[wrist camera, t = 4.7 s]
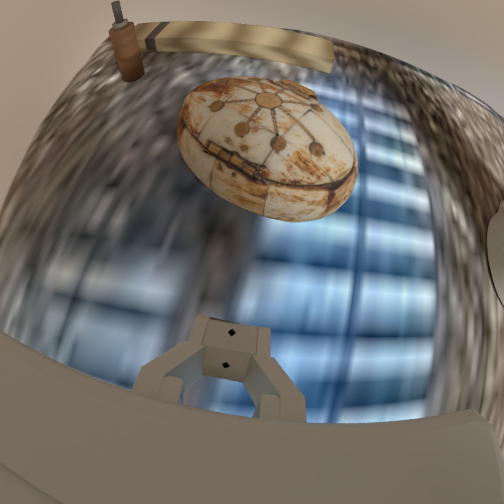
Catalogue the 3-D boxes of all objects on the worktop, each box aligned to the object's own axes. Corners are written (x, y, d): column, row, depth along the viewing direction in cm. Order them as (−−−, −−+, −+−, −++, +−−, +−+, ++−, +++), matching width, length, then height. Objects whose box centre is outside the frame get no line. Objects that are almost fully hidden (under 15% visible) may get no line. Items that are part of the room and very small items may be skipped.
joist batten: (328, 53, 32) (333, 41, 30) (329, 73, 30) (334, 60, 28) (140, 35, 32) (137, 23, 29) (122, 53, 30) (119, 41, 28)
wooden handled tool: (148, 68, 29) (133, -5, 17) (138, 81, 28) (119, 5, 17) (129, 69, 29) (111, -1, 17) (118, 82, 28) (96, 9, 16)
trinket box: (345, 237, 23) (389, 195, 16) (168, 227, 23) (143, 177, 15) (329, 123, 27) (352, 70, 20) (190, 112, 27) (183, 53, 19)
